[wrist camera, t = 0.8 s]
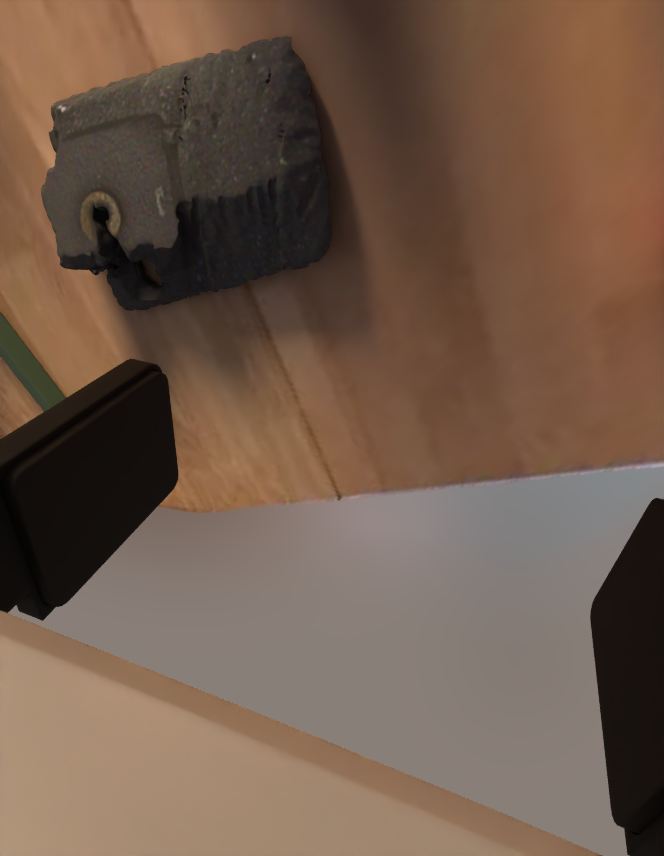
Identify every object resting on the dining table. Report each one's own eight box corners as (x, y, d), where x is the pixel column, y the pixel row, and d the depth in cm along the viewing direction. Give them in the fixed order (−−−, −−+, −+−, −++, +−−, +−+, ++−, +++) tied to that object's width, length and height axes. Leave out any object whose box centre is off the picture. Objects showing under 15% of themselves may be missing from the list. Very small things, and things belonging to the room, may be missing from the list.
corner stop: (-84, 215, 47) (-108, 219, 45) (-14, 134, 40) (-40, 135, 38) (74, 419, 54) (58, 430, 52) (154, 380, 47) (139, 390, 46)
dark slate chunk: (354, 282, 36) (332, 303, 33) (117, 309, 45) (78, 328, 41) (309, 16, 29) (275, 3, 25) (36, 106, 37) (-20, 106, 34)
